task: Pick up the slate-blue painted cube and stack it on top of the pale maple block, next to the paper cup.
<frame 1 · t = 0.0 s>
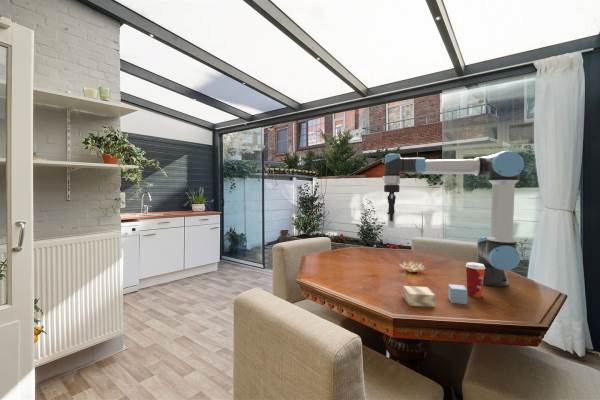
hand: (390, 226, 152), 28 cm above the table, fingers open, 13 cm apart
maple block: (418, 302, 124), on the table
slate cube: (457, 300, 126), on the table
paper cup: (474, 295, 133), on the table
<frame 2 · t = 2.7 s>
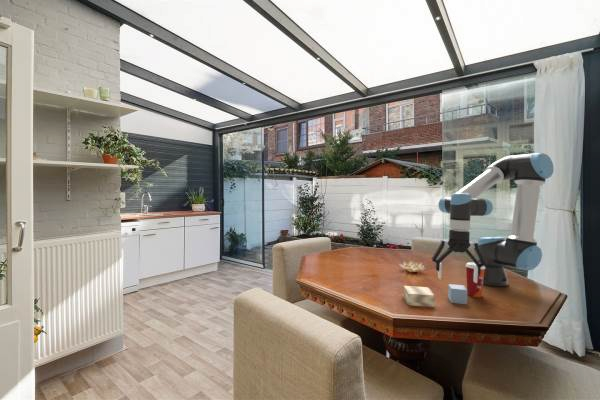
hand: (457, 280, 125), 9 cm above the table, fingers open, 13 cm apart
nothing on the table moved.
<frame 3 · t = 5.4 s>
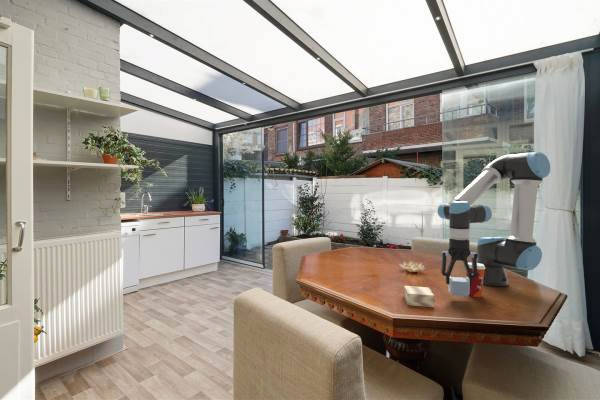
hand: (458, 292, 126), 4 cm above the table, fingers closed on slate cube, 6 cm apart
slate cube: (458, 293, 126), point 3 cm above the table, touching gripper
everything else where it was.
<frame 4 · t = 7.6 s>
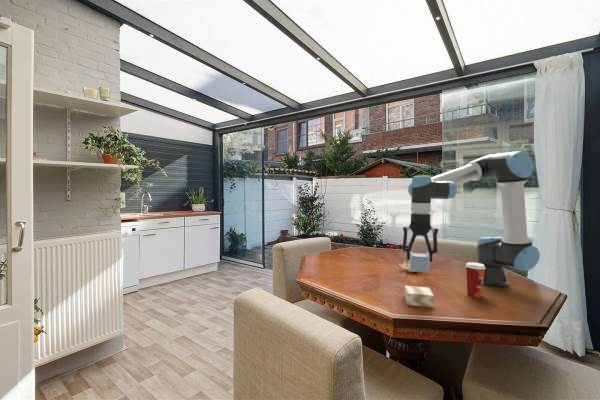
hand: (418, 268, 124), 14 cm above the table, fingers closed on slate cube, 6 cm apart
slate cube: (419, 269, 124), point 14 cm above the table, touching gripper
everything else where it was.
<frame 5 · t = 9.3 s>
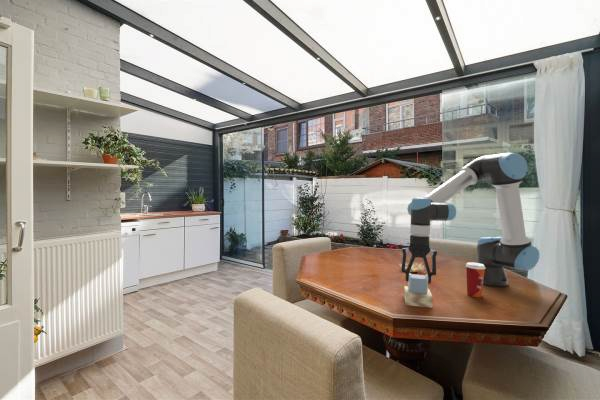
hand: (417, 290, 124), 5 cm above the table, fingers closed on slate cube, 6 cm apart
maple block: (417, 302, 124), on the table, touching gripper
slate cube: (417, 290, 124), point 5 cm above the table, touching gripper
everything else where it was.
when the fingers open (5 cm above the table, at t = 9.9 s): slate cube stays where it is, point 5 cm above the table.
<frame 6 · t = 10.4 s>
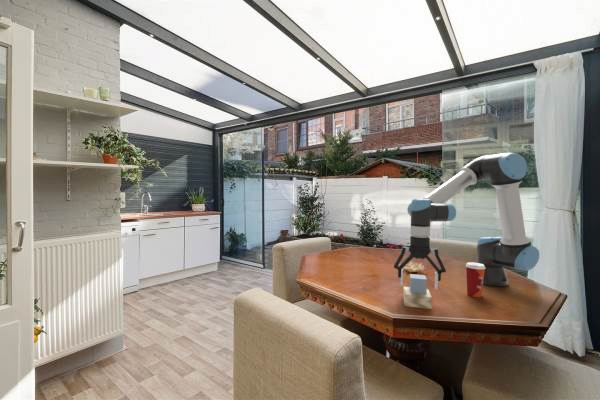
hand: (418, 286, 124), 6 cm above the table, fingers open, 13 cm apart
maple block: (416, 303, 123), on the table
slate cube: (417, 290, 123), point 5 cm above the table
everything else where it was.
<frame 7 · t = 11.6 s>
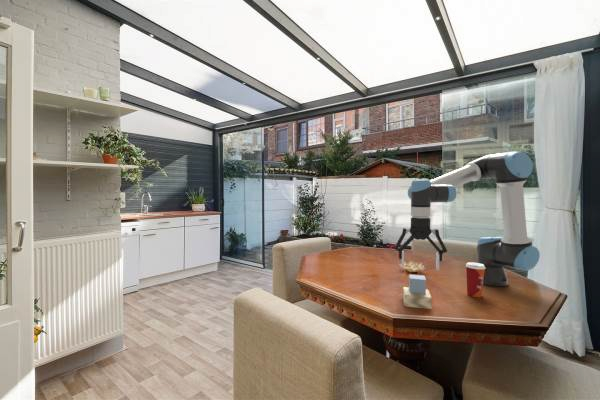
hand: (419, 267, 124), 14 cm above the table, fingers open, 13 cm apart
maple block: (416, 303, 122), on the table, touching slate cube
slate cube: (416, 291, 123), point 5 cm above the table, touching maple block
everything else where it was.
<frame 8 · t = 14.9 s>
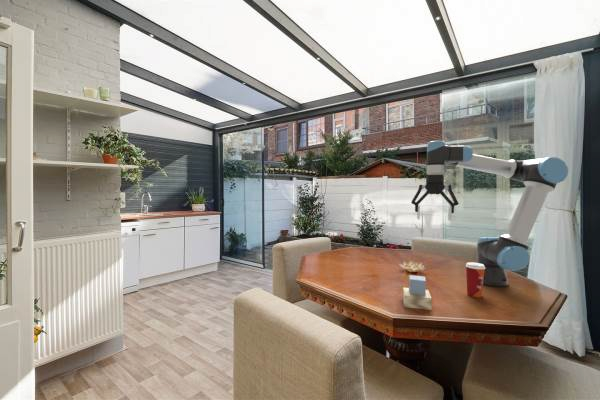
hand: (433, 219, 140), 33 cm above the table, fingers open, 13 cm apart
slate cube: (417, 292, 122), point 5 cm above the table, touching maple block
everything else where it was.
at the end: slate cube inside the target area on the maple block (0.3 cm from its centre), point 5.0 cm above the maple block's base; slate cube tilted 0°; the gripper is holding nothing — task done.
